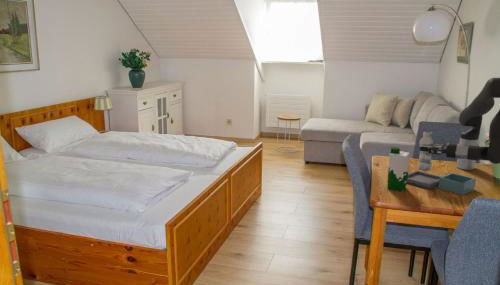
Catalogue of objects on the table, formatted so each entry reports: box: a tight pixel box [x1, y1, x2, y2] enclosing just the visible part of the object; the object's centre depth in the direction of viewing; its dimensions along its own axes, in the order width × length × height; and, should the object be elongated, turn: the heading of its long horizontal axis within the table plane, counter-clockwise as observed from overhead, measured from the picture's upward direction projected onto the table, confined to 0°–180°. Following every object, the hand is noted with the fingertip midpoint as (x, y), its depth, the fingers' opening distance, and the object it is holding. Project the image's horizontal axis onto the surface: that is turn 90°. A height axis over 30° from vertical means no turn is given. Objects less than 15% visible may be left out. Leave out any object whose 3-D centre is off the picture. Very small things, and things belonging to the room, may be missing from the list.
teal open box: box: [438, 172, 477, 196], centre depth 210 cm, size 12×12×6 cm
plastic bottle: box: [417, 130, 434, 172], centre depth 217 cm, size 6×7×20 cm
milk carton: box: [387, 146, 410, 192], centre depth 209 cm, size 9×9×20 cm
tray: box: [407, 169, 442, 190], centre depth 220 cm, size 16×16×2 cm
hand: (421, 147), depth 217 cm, fingers closed on plastic bottle, 6 cm apart
